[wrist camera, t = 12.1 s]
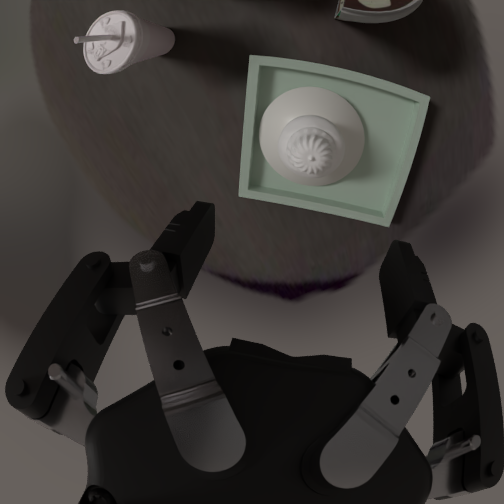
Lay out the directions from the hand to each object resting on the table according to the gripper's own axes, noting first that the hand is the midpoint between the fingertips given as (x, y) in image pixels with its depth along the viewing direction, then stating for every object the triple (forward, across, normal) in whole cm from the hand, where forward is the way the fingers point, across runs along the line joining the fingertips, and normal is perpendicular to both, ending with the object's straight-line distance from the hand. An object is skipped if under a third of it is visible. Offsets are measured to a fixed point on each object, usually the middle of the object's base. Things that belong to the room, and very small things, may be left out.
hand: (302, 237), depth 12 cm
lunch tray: (+20, -2, +1) cm, 20 cm away
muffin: (+19, 0, +1) cm, 19 cm away
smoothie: (+20, +18, -9) cm, 29 cm away
